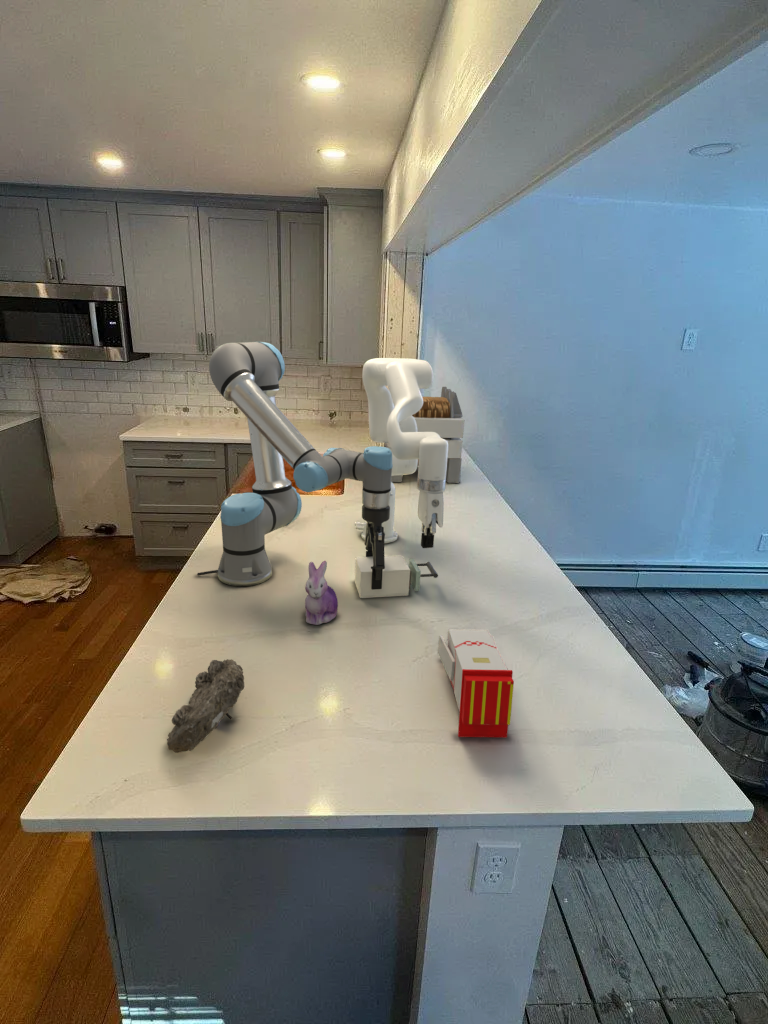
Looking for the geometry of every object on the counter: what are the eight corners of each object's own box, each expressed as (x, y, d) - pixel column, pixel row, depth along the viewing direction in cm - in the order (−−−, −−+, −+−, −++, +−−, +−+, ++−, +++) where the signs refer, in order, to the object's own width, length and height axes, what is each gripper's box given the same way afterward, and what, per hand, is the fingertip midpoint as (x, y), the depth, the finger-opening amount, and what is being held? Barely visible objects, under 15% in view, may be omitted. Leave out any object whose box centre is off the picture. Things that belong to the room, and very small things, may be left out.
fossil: (192, 660, 117) (244, 628, 112) (224, 691, 120) (276, 661, 115) (142, 746, 98) (202, 712, 93) (182, 779, 101) (242, 748, 96)
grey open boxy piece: (382, 463, 289) (386, 382, 275) (445, 464, 293) (451, 384, 279) (390, 482, 257) (394, 392, 243) (460, 483, 261) (468, 394, 247)
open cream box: (400, 579, 166) (402, 555, 163) (408, 595, 157) (410, 569, 155) (354, 582, 163) (355, 557, 161) (360, 598, 155) (360, 572, 152)
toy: (488, 613, 130) (523, 677, 101) (484, 667, 133) (517, 744, 104) (435, 612, 130) (455, 676, 101) (432, 666, 133) (451, 743, 103)
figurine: (310, 630, 138) (310, 574, 133) (296, 610, 147) (296, 557, 141) (346, 622, 142) (347, 568, 137) (330, 603, 151) (331, 552, 146)
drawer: (429, 576, 167) (430, 557, 165) (437, 589, 159) (438, 570, 157) (370, 579, 163) (370, 560, 161) (375, 593, 156) (376, 573, 154)
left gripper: (399, 519, 142) (394, 598, 149) (381, 491, 162) (378, 562, 170) (369, 520, 140) (366, 600, 148) (356, 492, 161) (354, 563, 168)
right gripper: (453, 491, 146) (447, 557, 152) (436, 476, 160) (432, 536, 166) (425, 492, 145) (420, 558, 151) (411, 476, 158) (407, 537, 164)
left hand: (373, 580), depth 159 cm, fingers closed on open cream box, 10 cm apart
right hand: (427, 546), depth 158 cm, fingers closed
